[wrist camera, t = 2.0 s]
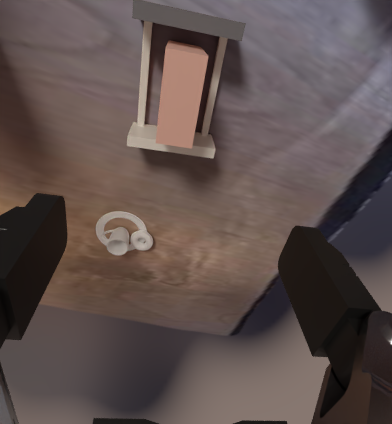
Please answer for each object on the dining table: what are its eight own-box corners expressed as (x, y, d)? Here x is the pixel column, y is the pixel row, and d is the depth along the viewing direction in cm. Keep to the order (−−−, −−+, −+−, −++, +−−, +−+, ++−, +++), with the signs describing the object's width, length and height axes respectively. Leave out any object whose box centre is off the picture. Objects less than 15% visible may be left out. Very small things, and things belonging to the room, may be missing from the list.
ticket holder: (140, 1, 29) (133, -2, 24) (235, 22, 30) (245, 23, 26) (132, 132, 36) (126, 149, 32) (209, 144, 38) (213, 162, 33)
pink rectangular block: (168, 40, 31) (165, 47, 23) (200, 46, 31) (208, 56, 23) (160, 114, 35) (155, 143, 27) (188, 118, 36) (191, 148, 28)
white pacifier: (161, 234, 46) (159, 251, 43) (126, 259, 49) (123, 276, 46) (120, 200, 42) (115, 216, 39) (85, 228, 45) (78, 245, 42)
